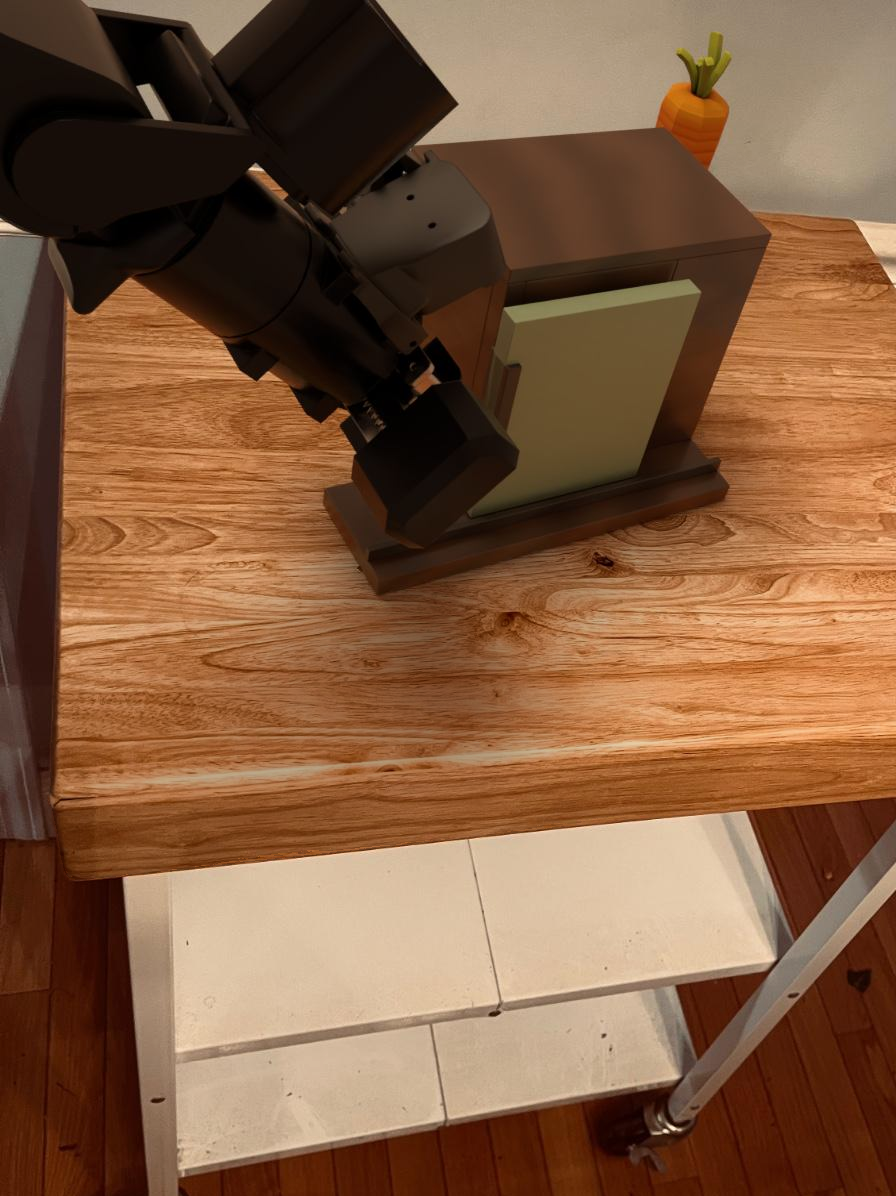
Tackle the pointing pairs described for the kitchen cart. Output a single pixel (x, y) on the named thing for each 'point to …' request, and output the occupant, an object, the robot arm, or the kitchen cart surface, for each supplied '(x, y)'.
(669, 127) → the carrot
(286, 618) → the kitchen cart surface
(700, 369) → the cabinet
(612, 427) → the door
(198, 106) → the robot arm
